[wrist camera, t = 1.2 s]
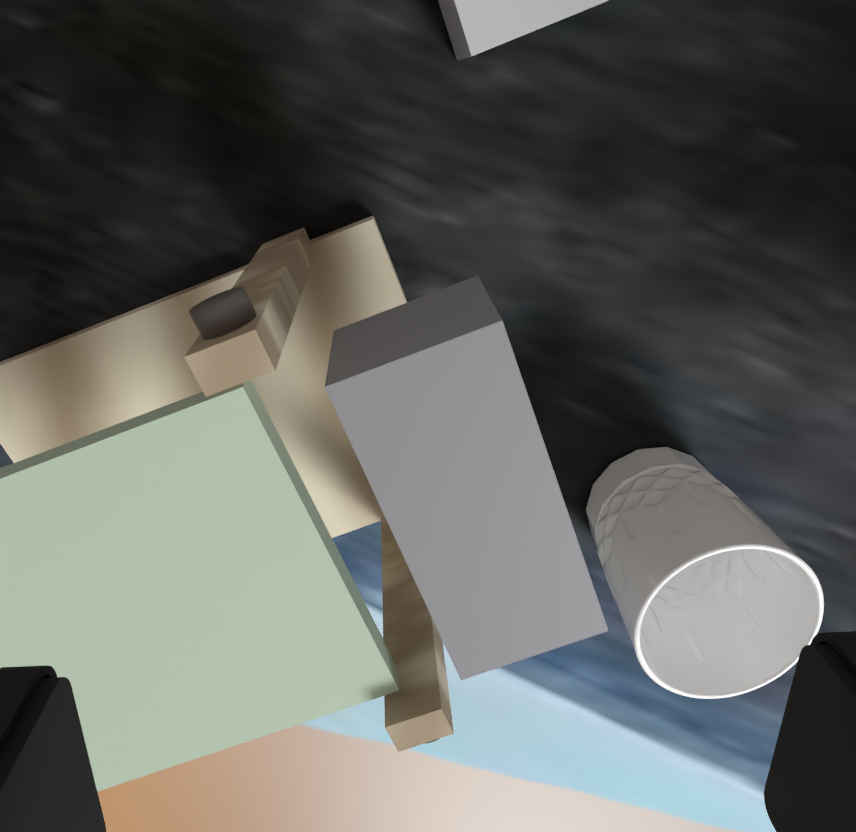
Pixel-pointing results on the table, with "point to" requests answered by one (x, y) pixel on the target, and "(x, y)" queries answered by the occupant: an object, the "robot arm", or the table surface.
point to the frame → (279, 391)
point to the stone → (501, 20)
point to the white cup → (699, 577)
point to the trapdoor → (288, 545)
